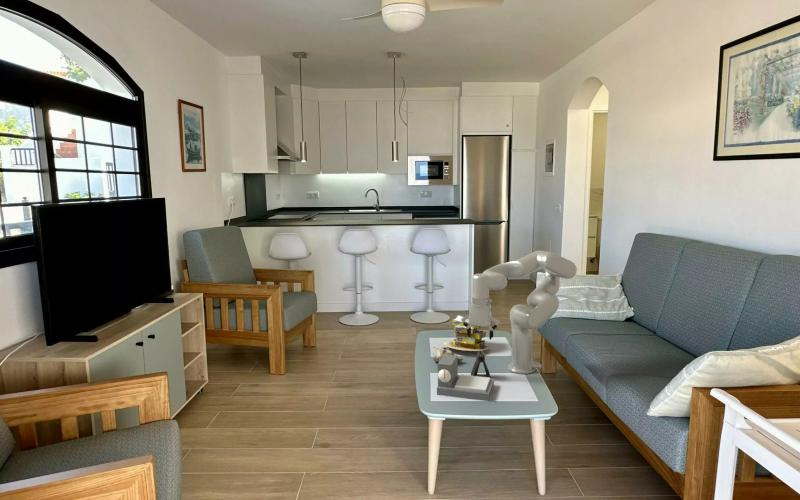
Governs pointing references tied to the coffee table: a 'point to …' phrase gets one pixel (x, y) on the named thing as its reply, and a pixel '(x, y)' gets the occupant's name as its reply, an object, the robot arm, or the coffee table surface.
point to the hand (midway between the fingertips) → (480, 337)
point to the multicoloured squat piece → (466, 337)
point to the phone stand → (476, 366)
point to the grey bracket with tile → (461, 381)
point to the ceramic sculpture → (442, 353)
